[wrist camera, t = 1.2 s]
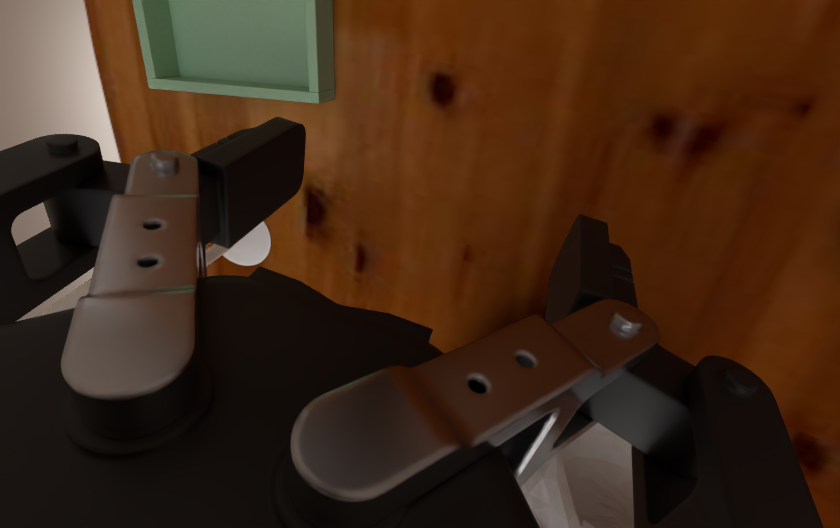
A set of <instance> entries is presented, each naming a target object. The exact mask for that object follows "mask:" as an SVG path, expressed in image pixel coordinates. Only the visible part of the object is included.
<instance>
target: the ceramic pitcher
mask: <svg viewBox="0 0 840 528" xmlns="http://www.w3.org/2000/svg"><path fill="white" fill-rule="evenodd" d="M631 446H632V445H631V444H630V443H628V442H627V441H625V440H624V439H622V438H621V437H619V436H618V435H616V434H615V433H613V432H612V431H610V430H609V429H607V428H606V427H604V426H603V425H601V424H600V423H597V424H596V425H594V426H593V427H592V428H590V429H589V430H588V431H586V432H585V433H584V434H582V435H581V436H580V437H578V438H577V439H576V440H574V441H573V442H571V443H570V444H569V445H567V446H566V447H565V448H563V449H562V450H561V451H559V452H558V453H557V454H555V455H554V456H553V457H551V458H550V459H549V460H547V461H546V462H545V463H544V464H543V465H542V466H541V467H540V468H539V469H538V470H537V471H536V472H535V473H534V474H533V475H532V476H531V477H530V478H529V479H528V480H527V481H526V482H525V483H524V484H523V485H522V486H521V487H520V488H521V490H522V492H523V494H524V496H525V498H526V500H527V502H528V505H529V507H530V509H531V511H532V513H533V515H534V517H535V519H536V521H537V523H538V525H539V527H540V528H634V508H633V480H632V452H631Z"/></svg>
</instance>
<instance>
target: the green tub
mask: <svg viewBox="0 0 840 528" xmlns="http://www.w3.org/2000/svg"><path fill="white" fill-rule="evenodd" d="M132 1H133V6H134V11H135V17H136V22H137V27H138V33H139V38H140V43H141V48H142V54H143V59H144V64H145V69H146V75H147V80H148V85H149V88H152V89H163V90H174V91H185V92H196V93H207V94H218V95H229V96H240V97H251V98H262V99H273V100H284V101H295V102H306V103H317V104H319V103H322V102H326V101H329V100H332V99H335V92H334V47H333V1H332V0H132Z"/></svg>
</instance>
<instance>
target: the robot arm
mask: <svg viewBox="0 0 840 528" xmlns="http://www.w3.org/2000/svg"><path fill="white" fill-rule="evenodd" d="M305 140H306V131H305V127H304V126H303V125H302V124H299V123H296V122H293V121H290V120H287V119H284V118H281V117H275V118H273V119H271V120H269V121H267V122H265V123H263V124H261V125H260V126H258V127H255V128H250V129H245V130H240V131H237V132H235V133H233V134H231V135H229V136H227V138H223V139H221V140H219V141H218V142H217V143H213V144H211V145H209V146H207V147H205V148H203V149H201V150H199V151H197V152H195V153H193V154H191V155H189V154H186V153H183V152H179V151H171V150H157V151H150V152H145V153H142V154H140V155H138V156H136V157H135V158H134V159H133V160H132V162H131V165H130V164H123V163H117V162H110V161H103V159H102V155H101V150H100V146H99V143H98V142H97V141H95V140H94V139H91V138H89V137H86V136H81V135H73V134H55V135H47V136H43V137H39V138H35V139H33V140H30V141H27V142H24V143H22V144H19V145H16V146H14V147H11V148H8V149H5V150H2V151H0V528H540V527H539V525H538V523H537V521H536V519H535V517H534V515H533V513H532V511H531V509H530V507H529V505H528V502H527V500H526V498H525V496H524V494H523V492H522V490H521V488H520V487H521V486H522V485H523V484H524V483H525V482H526V481H527V480H528V479H529V478H530V477H531V476H532V475H533V474H534V473H535V472H536V471H537V470H538V469H539V468H540V467H541V466H542V465H543V464H544V463H545V462H546V461H547V460H549V459H550V458H551V457H553V456H554V455H555V454H557V453H558V452H559V451H561V450H562V449H563V448H565V447H566V446H567V445H569V444H570V443H571V442H573V441H574V440H576V439H577V438H578V437H580V436H581V435H582V434H584V433H585V432H586V431H588V430H589V429H590V428H592V427H593V426H594V425H596V424H597V423H600V424H601V425H603V426H604V427H606V428H607V429H609V430H610V431H612V432H613V433H615V434H616V435H618V436H619V437H621V438H622V439H624V440H625V441H627V442H628V443H630V444H631V445H632V446H631V452H632V480H633V508H634V528H823V525H822V523H821V520H820V517H819V515H818V512H817V509H816V507H815V504H814V501H813V499H812V496H811V493H810V491H809V488H808V485H807V483H806V480H805V477H804V475H803V472H802V469H801V467H800V464H799V461H798V459H797V456H796V453H795V451H794V448H793V445H792V443H791V440H790V437H789V435H788V432H787V429H786V427H785V424H784V421H783V419H782V416H781V413H780V411H779V408H778V405H777V403H776V400H775V398H774V396H773V393H772V392H771V390H770V389H769V388H768V386H767V385H766V384H765V383H764V382H763V381H762V380H761V379H760V378H759V377H758V376H757V375H755V374H754V373H753V372H752V371H750V370H749V369H747V368H746V367H744V366H743V365H741V364H739V363H737V362H735V361H733V360H730V359H727V358H724V357H720V356H707V357H704V358H703V359H701V361H700V362H699V363H698V364H697V365H696V367H695V366H693V365H691V364H690V363H688V362H686V361H684V360H683V359H681V358H679V357H677V356H676V355H674V354H672V353H670V352H669V351H667V350H665V349H664V348H663V347H661V346H660V345H659V344H657V342H658V340H659V331H658V329H657V327H656V325H655V324H654V322H653V321H652V320H651V319H650V318H649V317H648V316H647V315H646V314H644V313H643V312H642V311H640V310H639V309H638V305H637V299H636V294H635V288H634V283H633V276H632V273H631V271H632V270H631V264H630V259H629V257H628V256H627V255H626V253H625V252H624V251H623V249H622V248H621V247H620V246H618V245H615V244H612V243H609V235H608V225H607V223H606V222H603V221H599V220H596V219H593V218H590V217H587V216H584V215H581V214H579V215H578V216H577V218H576V219H575V221H574V223H573V225H572V227H571V229H570V231H569V234H568V236H567V238H566V240H565V242H564V244H563V246H562V248H561V250H560V252H559V255H558V257H557V259H556V261H555V263H554V266H553V268H552V271H551V274H550V278H549V285H548V295H547V305H546V316H545V319H544V318H543V317H542V316H541V315H539V314H535V315H532V316H529V317H527V318H525V319H523V320H520V321H518V322H516V323H513V324H511V325H509V326H507V327H504V328H502V329H500V330H498V331H495V332H493V333H491V334H488V335H486V336H484V337H482V338H479V339H477V340H475V341H473V342H470V343H468V344H466V345H464V346H461V347H459V348H457V349H454V350H452V351H450V352H448V353H445V354H444V353H442V352H441V351H440V350H439V349H437V348H436V347H435V346H433V345H431V344H430V343H429V340H430V337H431V334H432V331H433V329H430V328H428V327H425V326H422V325H419V324H417V323H414V322H411V321H408V320H406V319H403V318H400V317H397V316H395V315H392V314H389V313H383V312H378V311H372V310H366V309H360V308H354V307H348V306H343V305H339V304H337V303H335V302H333V301H332V300H330V299H328V298H327V297H325V296H324V295H322V294H320V293H319V292H317V291H315V290H314V289H312V288H311V287H309V286H307V285H306V284H304V283H303V282H301V281H298V280H296V279H293V278H290V277H287V276H285V275H282V274H279V273H276V272H274V271H271V270H268V269H265V268H263V267H258V268H257V269H256V270H255V271H254V272H253V273H252V274H251V275H250V276H249V277H244V276H209V277H207V256H206V245H207V244H208V243H209V242H211V243H213V244H216V245H219V246H222V247H225V248H227V249H230V248H231V247H232V246H233V245H235V244H236V243H237V242H238V241H239V240H241V239H242V238H243V237H244V236H246V235H247V234H248V233H249V232H250V231H252V230H253V229H254V228H255V227H257V226H258V225H259V224H260V223H261V222H263V221H264V220H265V219H266V218H268V217H269V216H270V215H271V214H272V213H274V212H275V211H276V210H277V209H279V208H280V207H281V206H282V205H283V204H285V203H286V202H287V201H288V200H290V199H291V198H292V197H293V196H294V195H296V193H297V192H298V191H299V189H300V187H301V184H302V180H303V174H304V157H305ZM42 202H43V203H44V206H45V209H46V212H47V215H48V218H49V221H50V224H51V227H50V228H48V229H46V230H44V231H42V232H41V233H39V234H37V235H35V236H33V237H32V238H30V239H28V240H26V241H24V242H22V243H21V244H19V245H17V246H16V244H15V242H14V239H13V237H12V234H11V227H12V223H13V221H14V219H15V218H16V217H17V216H18V215H19V214H20V213H22V212H24V211H26V210H28V209H30V208H32V207H34V206H36V205H38V204H40V203H42ZM93 267H94V271H93V275H92V279H91V283H90V287H89V291H88V293H87V295H86V296H82V297H80V298H79V300H78V301H77V304H76V307H75V308H71V309H67V310H63V311H59V312H55V313H50V314H46V315H42V316H38V317H34V318H30V319H26V320H21V321H17V320H18V319H20V318H21V317H23V316H24V315H25V314H27V313H28V312H30V311H31V310H33V309H34V308H35V307H37V306H38V305H40V304H41V303H43V302H44V301H46V300H47V299H49V298H50V297H51V296H53V295H54V294H56V293H57V292H58V291H60V290H61V289H63V288H64V287H66V286H67V285H69V284H70V283H72V282H73V281H74V280H76V279H77V278H79V277H80V276H82V275H83V274H84V273H86V272H87V271H89V270H90V269H92V268H93ZM15 321H17V322H15Z"/></svg>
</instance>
